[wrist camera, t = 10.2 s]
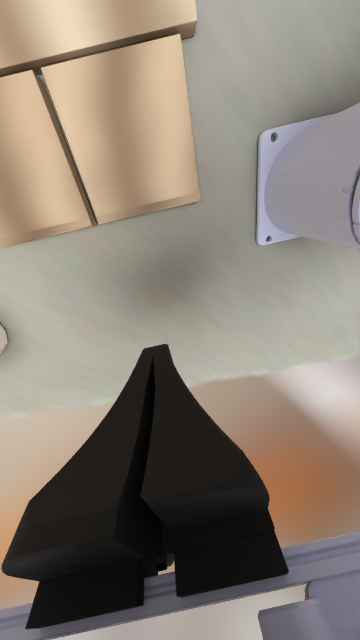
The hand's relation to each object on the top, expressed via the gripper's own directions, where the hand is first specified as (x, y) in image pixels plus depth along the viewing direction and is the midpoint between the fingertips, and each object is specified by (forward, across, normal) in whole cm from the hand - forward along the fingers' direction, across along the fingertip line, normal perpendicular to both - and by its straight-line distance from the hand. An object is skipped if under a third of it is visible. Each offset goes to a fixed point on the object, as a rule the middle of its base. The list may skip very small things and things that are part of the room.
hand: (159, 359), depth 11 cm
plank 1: (+10, +7, -11) cm, 17 cm away
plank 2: (+10, -1, -11) cm, 15 cm away
